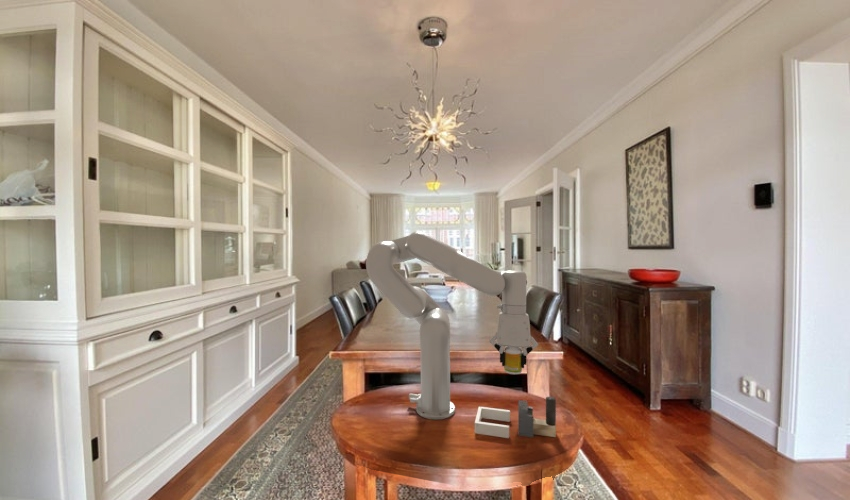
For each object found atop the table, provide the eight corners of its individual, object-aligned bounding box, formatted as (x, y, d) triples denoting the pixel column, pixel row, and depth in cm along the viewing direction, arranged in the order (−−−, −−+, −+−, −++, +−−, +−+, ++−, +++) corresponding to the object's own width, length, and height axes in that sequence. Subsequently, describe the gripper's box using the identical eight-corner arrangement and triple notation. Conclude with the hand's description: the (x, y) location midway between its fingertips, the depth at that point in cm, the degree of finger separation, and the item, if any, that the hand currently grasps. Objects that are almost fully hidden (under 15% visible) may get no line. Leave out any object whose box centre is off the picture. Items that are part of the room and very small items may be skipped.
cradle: (474, 433, 96) (474, 422, 96) (478, 415, 106) (478, 406, 106) (509, 438, 93) (509, 427, 93) (510, 420, 103) (510, 410, 103)
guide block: (518, 435, 95) (518, 409, 95) (518, 424, 100) (518, 400, 100) (533, 437, 94) (533, 411, 94) (532, 426, 99) (532, 401, 99)
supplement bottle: (522, 375, 105) (522, 344, 104) (504, 373, 106) (505, 343, 105) (520, 369, 110) (521, 339, 110) (503, 367, 111) (504, 338, 111)
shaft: (525, 433, 96) (525, 398, 95) (525, 427, 98) (525, 393, 98) (556, 437, 93) (556, 401, 93) (555, 431, 96) (555, 396, 96)
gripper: (485, 310, 106) (484, 367, 106) (543, 313, 101) (542, 373, 102) (487, 305, 113) (486, 359, 113) (541, 308, 109) (540, 364, 109)
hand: (512, 365), depth 108 cm, fingers closed on supplement bottle, 5 cm apart
